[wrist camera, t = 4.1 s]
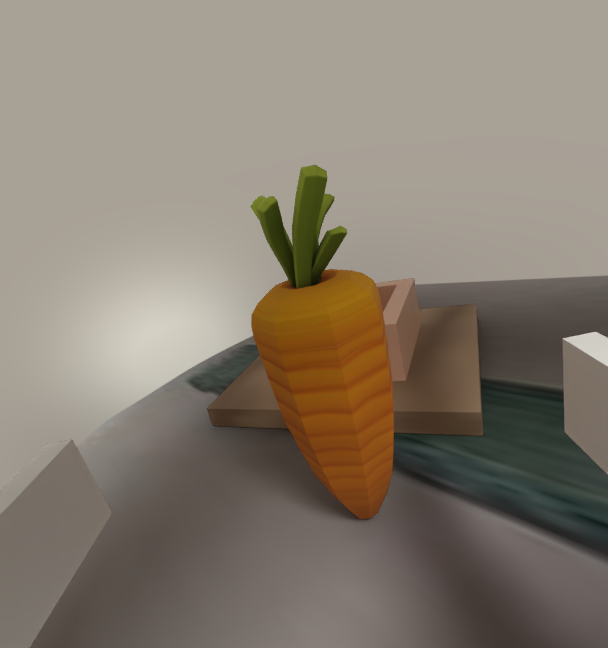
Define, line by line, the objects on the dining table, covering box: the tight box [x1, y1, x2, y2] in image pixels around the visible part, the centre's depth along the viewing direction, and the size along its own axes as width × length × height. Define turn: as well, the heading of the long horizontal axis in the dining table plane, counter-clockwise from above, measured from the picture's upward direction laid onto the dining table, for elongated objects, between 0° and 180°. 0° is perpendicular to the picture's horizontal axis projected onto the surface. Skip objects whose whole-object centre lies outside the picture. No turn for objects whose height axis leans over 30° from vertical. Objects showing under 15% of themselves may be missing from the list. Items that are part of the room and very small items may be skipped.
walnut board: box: [207, 304, 483, 436], centre depth 31 cm, size 18×16×2 cm
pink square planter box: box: [375, 278, 421, 381], centre depth 30 cm, size 10×9×4 cm
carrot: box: [251, 165, 394, 519], centre depth 15 cm, size 5×5×15 cm
